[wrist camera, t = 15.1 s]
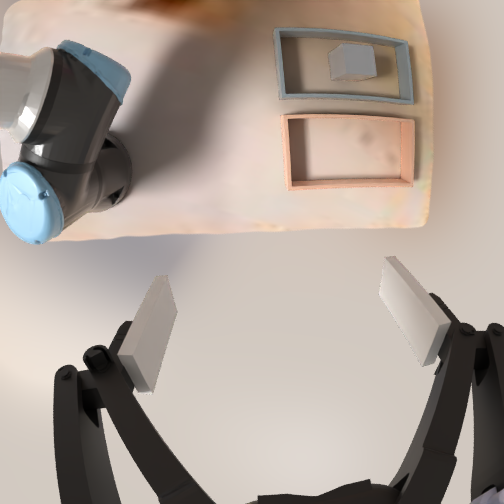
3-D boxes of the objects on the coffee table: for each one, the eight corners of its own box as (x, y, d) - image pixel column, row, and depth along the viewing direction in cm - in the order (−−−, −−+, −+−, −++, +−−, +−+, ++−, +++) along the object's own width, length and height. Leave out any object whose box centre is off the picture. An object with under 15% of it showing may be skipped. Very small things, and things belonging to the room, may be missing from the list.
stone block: (331, 80, 40) (346, 73, 33) (327, 53, 38) (342, 43, 31) (358, 81, 40) (376, 75, 33) (354, 55, 38) (372, 46, 31)
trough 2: (285, 185, 49) (288, 190, 45) (280, 115, 43) (283, 115, 40) (402, 181, 48) (413, 186, 44) (403, 119, 43) (414, 120, 39)
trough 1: (279, 99, 42) (281, 97, 39) (272, 34, 37) (274, 27, 33) (402, 104, 42) (413, 104, 38) (397, 45, 36) (407, 41, 33)
